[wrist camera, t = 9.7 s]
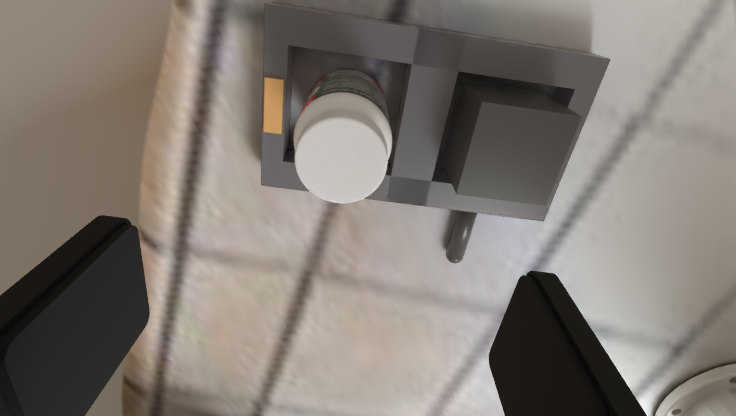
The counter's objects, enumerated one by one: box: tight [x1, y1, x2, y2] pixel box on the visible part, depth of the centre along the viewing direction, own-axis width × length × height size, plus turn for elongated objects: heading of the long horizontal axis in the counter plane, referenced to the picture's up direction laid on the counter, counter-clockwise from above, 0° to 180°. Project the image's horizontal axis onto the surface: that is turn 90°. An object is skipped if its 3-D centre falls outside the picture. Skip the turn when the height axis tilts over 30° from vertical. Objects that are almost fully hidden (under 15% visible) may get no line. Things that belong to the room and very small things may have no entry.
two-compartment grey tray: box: [261, 2, 610, 263], centre depth 24 cm, size 18×15×5 cm
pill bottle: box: [294, 69, 392, 203], centre depth 21 cm, size 5×5×8 cm
